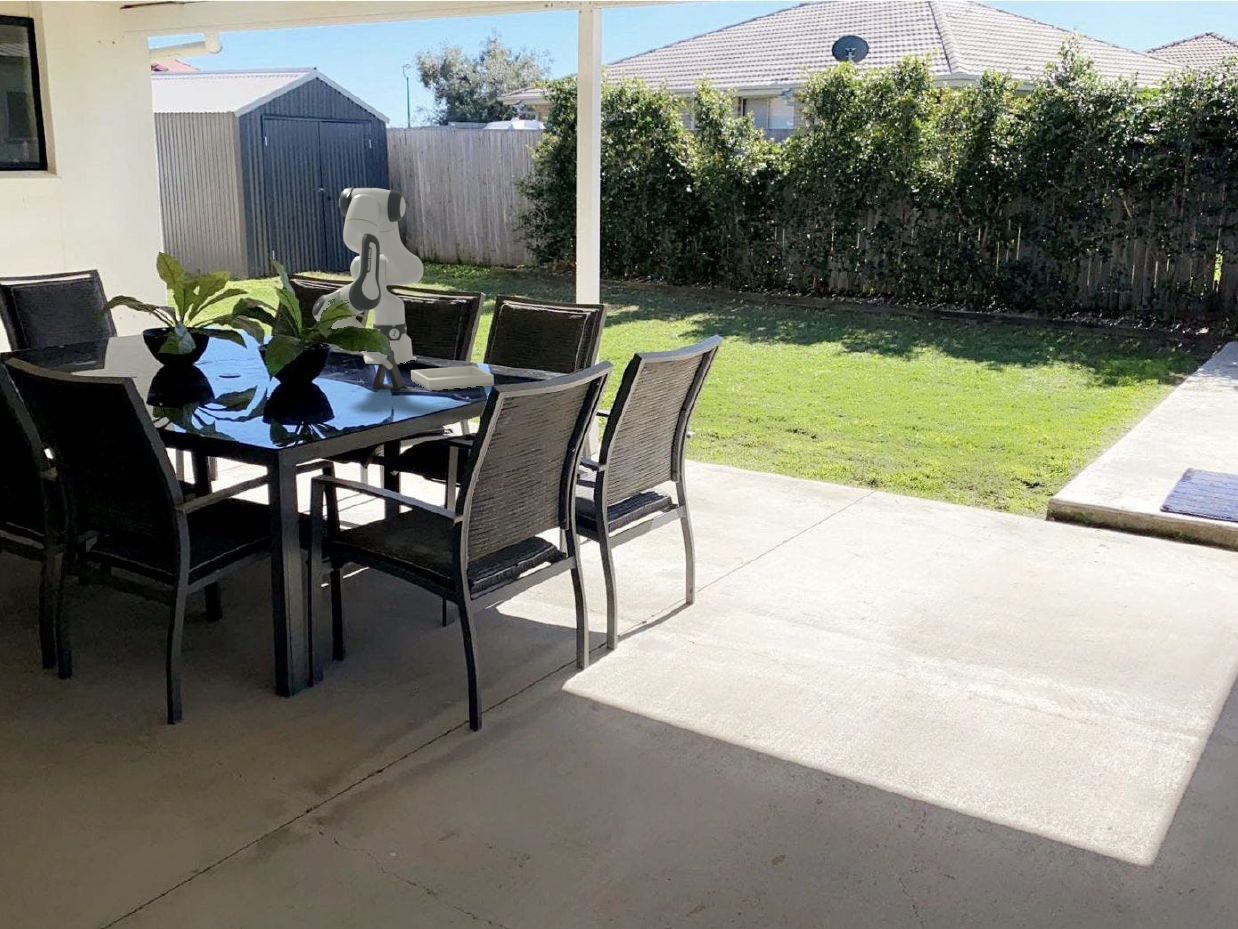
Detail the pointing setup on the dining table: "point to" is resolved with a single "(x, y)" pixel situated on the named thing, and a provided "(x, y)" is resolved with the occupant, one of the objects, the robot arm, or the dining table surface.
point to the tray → (452, 378)
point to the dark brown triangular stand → (393, 373)
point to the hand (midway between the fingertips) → (387, 365)
